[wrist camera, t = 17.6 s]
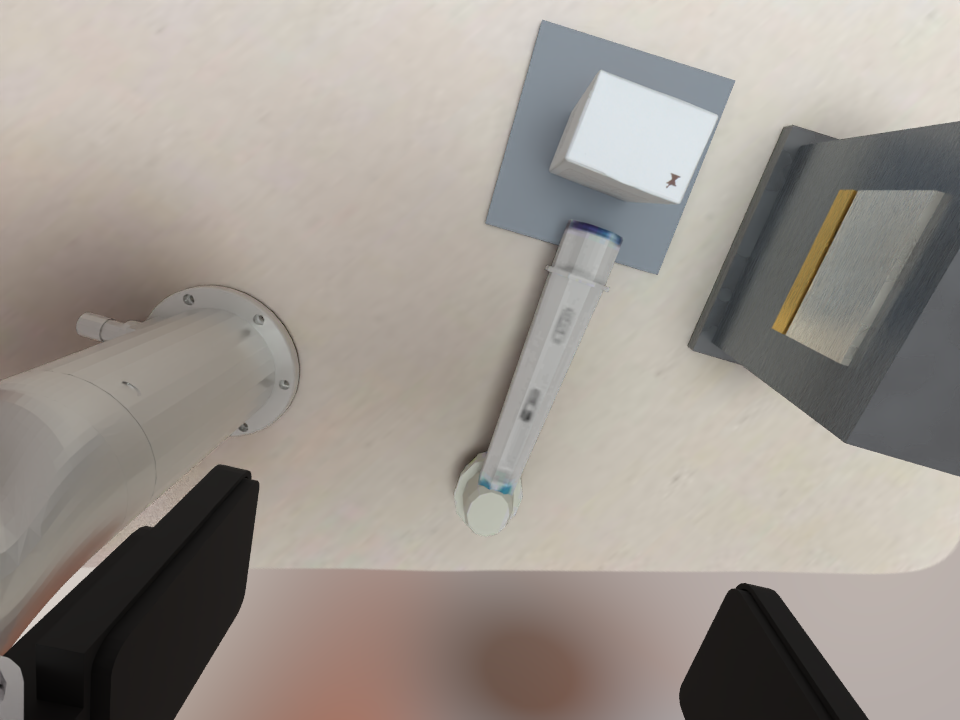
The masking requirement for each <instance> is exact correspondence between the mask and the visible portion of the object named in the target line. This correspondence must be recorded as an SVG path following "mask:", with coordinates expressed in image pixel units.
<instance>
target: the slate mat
mask: <svg viewBox="0 0 960 720" xmlns="http://www.w3.org/2000/svg"><path fill="white" fill-rule="evenodd" d="M600 70H603V71H606V72H608V73H611V74H613V75H616V76H618V77H621V78H624V79H626V80H629V81H631V82H634V83H637V84H639V85H642V86H644V87H647V88H650V89H652V90H655V91H658V92H661V93H664V94H666V95H669V96H672V97H675V98H677V99H680V100H682V101H685V102H688V103H690V104H692V105H695V106H697V107H700V108H702V109H705V110H707V111H709V112H712V113H714V114H717V115H718V120H717V122H716V124H715V127H714V129H713V131H712V133H711V136H710V138H709V140H708V142H707V144H706V147H705V149H704V151H703V153H702V156H701V158H700V160H699V162H698V165H697V167H696V169H695V171H694V174H693V176H692V178H691V181H690V183H689V185H688V187H687V190H686V192H685V194H684V197H683V199H682V201H681V203H680V204H659V203H638V202H625V201H623V200H620V199H618V198H615V197H612V196H610V195H607V194H604V193H602V192H599V191H596V190H594V189H591V188H588V187H586V186H583V185H581V184H578V183H575V182H573V181H570V180H568V179H565V178H563V177H560V176H558V175H555V174H553V173H550V172H549V168H550V165H551V163H552V160H553V158H554V155H555V152H556V150H557V147H558V145H559V142H560V140H561V137H562V134H563V132H564V129H565V127H566V124H567V122H568V119H569V117H570V114H571V112H572V110H573V109H574V107H575V106H576V104H577V103H578V101H579V100H580V98H581V97H582V95H583V94H584V93H585V91H586V89H587V88H588V86H589V85H590V83H591V82H592V80H593V79H594V77H595V76H596V74H597V73H598V72H599V71H600ZM734 83H735V80H732V79H728V78H725V77H722V76H719V75H716V74H713V73H709V72H706V71H703V70H700V69H697V68H694V67H690V66H687V65H684V64H681V63H678V62H675V61H671V60H668V59H665V58H662V57H659V56H656V55H652V54H649V53H646V52H643V51H640V50H637V49H633V48H630V47H627V46H624V45H621V44H618V43H614V42H611V41H608V40H605V39H602V38H599V37H595V36H592V35H589V34H586V33H583V32H580V31H576V30H573V29H570V28H567V27H564V26H561V25H557V24H554V23H551V22H548V21H545V20H542V22H541V26H540V29H539V33H538V37H537V40H536V44H535V47H534V51H533V54H532V58H531V62H530V65H529V69H528V72H527V76H526V79H525V83H524V87H523V90H522V94H521V97H520V101H519V104H518V108H517V112H516V115H515V119H514V122H513V126H512V129H511V133H510V137H509V140H508V144H507V147H506V151H505V154H504V158H503V162H502V165H501V169H500V172H499V176H498V179H497V183H496V187H495V190H494V194H493V197H492V201H491V205H490V208H489V212H488V215H487V219H486V222H485V223H486V224H489V225H493V226H496V227H499V228H503V229H506V230H509V231H513V232H516V233H519V234H523V235H526V236H529V237H533V238H536V239H539V240H543V241H546V242H549V243H553V244H556V245H559V244H560V242H561V239H562V236H563V234H564V231H565V228H566V226H567V223H568V220H571V219H573V220H577V221H581V222H585V223H588V224H592V225H594V226H597V227H600V228H603V229H605V230H608V231H611V232H613V233H615V234H617V235H619V236H621V237H623V238H624V239H623V242H622V244H621V247H620V249H619V252H618V254H617V257H616V259H615V262H616V263H620V264H623V265H626V266H630V267H633V268H636V269H640V270H643V271H646V272H650V273H653V274H656V275H658V273H659V270H660V268H661V265H662V263H663V260H664V258H665V255H666V253H667V250H668V248H669V245H670V243H671V240H672V238H673V235H674V233H675V230H676V228H677V225H678V223H679V220H680V218H681V215H682V213H683V210H684V208H685V205H686V203H687V200H688V198H689V195H690V193H691V190H692V188H693V185H694V183H695V180H696V178H697V175H698V173H699V170H700V168H701V165H702V163H703V160H704V158H705V155H706V153H707V150H708V148H709V145H710V143H711V140H712V138H713V135H714V133H715V130H716V128H717V125H718V123H719V120H720V118H721V115H722V113H723V110H724V108H725V105H726V103H727V100H728V98H729V95H730V93H731V90H732V88H733V85H734Z"/></svg>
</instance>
